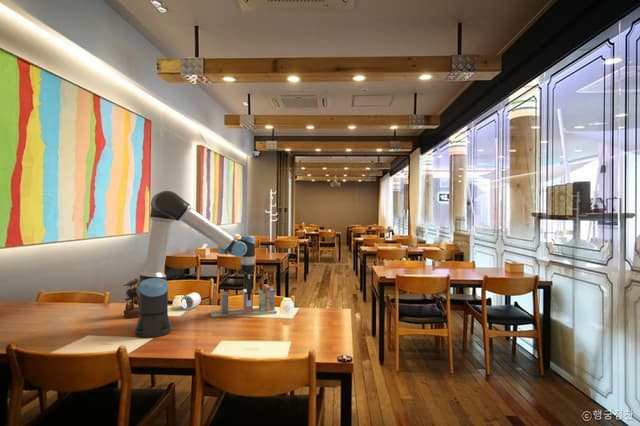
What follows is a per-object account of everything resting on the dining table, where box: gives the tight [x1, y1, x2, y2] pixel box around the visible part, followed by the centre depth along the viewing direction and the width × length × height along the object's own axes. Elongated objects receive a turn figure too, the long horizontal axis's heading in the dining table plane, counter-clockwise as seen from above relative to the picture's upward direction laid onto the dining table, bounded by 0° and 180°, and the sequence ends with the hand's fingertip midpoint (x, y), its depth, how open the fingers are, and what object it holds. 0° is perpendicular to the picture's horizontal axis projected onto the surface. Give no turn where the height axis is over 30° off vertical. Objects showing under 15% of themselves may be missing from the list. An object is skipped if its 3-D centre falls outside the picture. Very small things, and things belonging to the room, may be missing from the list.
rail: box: [210, 284, 278, 319], centre depth 204 cm, size 11×34×14 cm, turn 106°
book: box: [242, 288, 254, 313], centre depth 204 cm, size 9×5×11 cm, turn 16°
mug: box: [180, 291, 202, 311], centre depth 215 cm, size 12×10×8 cm
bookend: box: [221, 291, 229, 314], centre depth 201 cm, size 9×3×10 cm, turn 16°
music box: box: [122, 277, 139, 320], centre depth 198 cm, size 15×11×20 cm
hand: (247, 303), depth 204 cm, fingers open, 13 cm apart
